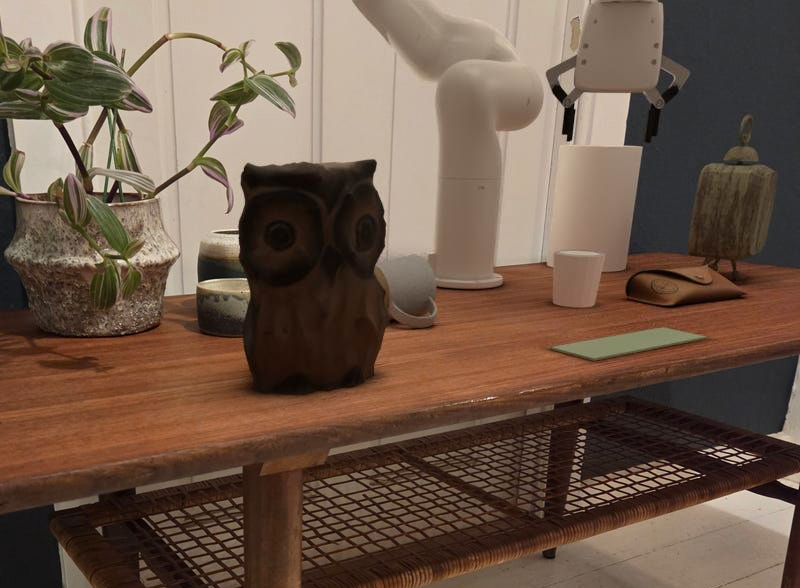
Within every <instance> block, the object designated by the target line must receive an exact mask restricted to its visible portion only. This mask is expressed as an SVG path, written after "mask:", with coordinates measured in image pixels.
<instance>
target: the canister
mask: <svg viewBox="0 0 800 588" xmlns="http://www.w3.org/2000/svg"><path fill="white" fill-rule="evenodd" d="M642 155H643V146H641V145H640V146H638V145H609V144H608V145H606V144H560V145H559V146H558V157H557V165H556V166H557V167H556V177H555V185H554V193H553V201H552V202H553V204H552V212H551V219H550V223H551V224H550V231H549V239H548V249H547V256H546V257H547V259H546V266H548V267H550V268H553V264H554V252H555V251H560V250H588V251H596V252H600V253H604V254H605V260H604V264H603V269H602V273H610V272H612V273H613V272H621V271H625V270H626V267H627V262H628V261H627V260H628V256H629V247H630V239H631V232H632V227H633V218H634V212H635V205H636V197H637V191H638V183H639V175H640V170H641V161H642Z"/></svg>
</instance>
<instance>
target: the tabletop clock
mask: <svg viewBox="0 0 800 588" xmlns="http://www.w3.org/2000/svg"><path fill="white" fill-rule="evenodd" d="M747 121H748V123H749V127H748V129H749V130H748V133H743V132H744V128H745V125H746V124H747ZM753 128H754V118H753V116H752V115H751V114H746V115H745V116H743V118H742V120H741V123H740V128H739V133H738V141H739V145H738V146H734V147H731V148H730V149H729V150H728V151H727V152H726V153H725V155H724V157H723V159H722V161H726V162H725V163H724V162H712V163H709V164H706V165H705V166H703V168H702V170H701V171H700V174H699V178H698V182H697V186H696V192H695V198H694V202H693V208H692V213H691V221H690V227H689V234H688V242H687V254H688V255H689V256H690V257H698V258H699V257H700V258H704V260H703V262H702V264H701V266H705V265H707V264H709V265H711V269H712V270H714V271H716V272H718V270H719V265H718V264H719V262H720V261H721V260H730V262H731V268H732V271H730V273H729V278H730V280H732V281H738V280H739V279H740V278H741V272H740V271H739V270H737V261H740V260H741V261H742V260H745V259H748V258H750V257H752V256H755V255H757V254H759V253H760V252H762V250H763V249H764V247H765V244H766V241H767V238H768V233H769V228H770V227H769V226H770V223H771V218H772V213H773V208H774V202H775V198H776V193H777V192H776V191H777V186H778V179H779V175H778V172H777V171H775V170H773V169H772V168H770V167H769V166H767V165H764V164H756V163H755V164H754V163H753V164H752V163H744V162H759V161H760V160H759V159H760V158H759V155H758V152H757V151H756V150H755V148H754V147H752V146H748V143H749V141H750V140H751V137H752V133H753ZM727 162H736V163H727Z"/></svg>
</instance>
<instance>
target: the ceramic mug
mask: <svg viewBox="0 0 800 588" xmlns="http://www.w3.org/2000/svg"><path fill="white" fill-rule="evenodd" d="M410 254H411V255H407V256H405V255H403V256H398V257H394V258H389V259H383V260H378V261H377V263H376V265H375V268H374V274H375V276H376V278H377V280H378V282H380V284H381V286H382V287H383V288H384V290H385V291H386V295H385V298H384V299H385V306H386V307H387V309H388V314H389V318H390V320H389V321H392V320H395V321H397V322H398V323H400V324H401V325H403V326H406V327H409V328H415V329H424V328H428V327H430V326H432V325H433V324H434V323H435V320H436V318H437V315H438V307H437V304H436V303H435V301H436V298H437V297H436V296H437V286H436V280H435V276H434V273H433V270H432V268H431V267H430V265H429V263H428V262H427V261H426V260H425V259H424V258H423V257H421V256H419V255H420V254H419V255H418V254H412V253H410ZM428 313H429V314H430V315H429V316H426V315H427V314H428ZM424 315H425V316H424Z"/></svg>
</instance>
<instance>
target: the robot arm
mask: <svg viewBox="0 0 800 588" xmlns="http://www.w3.org/2000/svg"><path fill="white" fill-rule="evenodd" d="M351 1H352V3H353V4H354V6H355V7H356V8H357V10H358V11H359V12H360V14H361V15H362V16H363V17H364V18H365V19H366V21H368V22H369V23H370V25H372V26H373V28H375V30H376V31H377V32H378V33H379V34H380V35H381V36H382V37H383V39H384V40H385V41H386V43H387V44H388V45H389V46H390V48H391V49H392V50H393V51H394V53H396V55H398V57H399V58H400V59H401V60H402V61H403V63H404V64H405V65H406V66H407V67H408V69H409V70H410V71H411V72H412V73H413V74H414V76H416V77H417V78H418V79H419V80H421V81H422V82H424V83H427V84H429V85H430V84H431V85H436V87H435V93H434V110H435V119H436V126H437V141H438V144H437V146H438V147H437V172H436V173H437V174H436V177H437V178H436V179H437V180H436V191H435V192H436V195H435V211H434V212H435V213H434V227H433V228H434V229H433V244H432V245H433V246H432V250H430V252H428V253H425V255H422V254H421V255H420V254H419V256H421V257H423V258H424V259H425V260H426V261H427V262H428V263H429V265H430V267H431V268H432V270H433V273H434V276H435V280H436V287H439V288H446V289H448V288H449V289H459V290H460V289H461V290H480V289H492V288H497V287H500V286H502V285H503V283H504V282H503V281H504V277H503V276H502V275H501V274H499V273H497V272H496V273H495V272H494V270H495V259H496V258H495V256H496V246H497V245H496V244H497V234H498V223H499V222H498V221H499V211H500V210H499V209H500V198H501V187H502V173H503V155H502V149H501V145H500V141H499V136H498V133H497V132H515V131H519V130H523V129H525V128H527V127H528V126H530V125H531V124H533V123H534V122H535V121H536V120H537V118H538V117H539V115H540V113H541V111H542V108H543V105H544V100H545V96H544V95H545V93H544V92H545V91H544V86H543V82H542V80H541V78H540V76H539V74H538V72H537V70H536V69H535V68H534V66H533V65H532V64H531V63H530V62H529V61H528V60H527V59H526V58H525V56H523V55H522V53H521V52H520V51H519V50H518V49H517V48H516V47H515V46H514V45H513V44H512V43H511V42H510V41H509V40H508V39H507V38H506V37H505V35H503V33H501V31H500V30H499V29H497V27H495V26H494V25H492V24H490V23H489V22H487V21H484V20H482V19H479V18H474V17H467V16H459V15H453V14H450V13H447V12H445V11H443V10H442V9H440V8H439V7H438V6H437V5H436V4H435V3H434V2H433V1H432V0H351ZM584 11H585V13H584V15H583V19H582V23H581V27H580V31H579V32H580V33H579V38H578V44H577V51H576V54H575V55H573V56H572V57H569V58H567V59H566V60H564V61H562V62H560V63H558V64H555V65H554V66H553V67H550V68H548V69H547V70H546V71H545V77H546V80H547V82H548V85H549V88H550V90H551V93H552V95H553V96H554V97H555V99H556V100H557V101H558V102H559V103H560V104H561V106H562V107H563V108H564V109H563V116H562V117H563V119H562V126H561V127H562V128H561V135H562V136H566V140H565V141H566V142H568V143H569V142H572V141H573V139H574V138H573V137H574V129H575V119H576V111H577V110H576V108H575V104H576V103H575V102H577V101H578V99H579V98H581V96H582V95H583V94H584V93H589V94H642V93H643V94H644V97H646V99H647V101H648V102H649V103H650V104H649V109H647V111H646V117H645V123H644V129H643V139H642V142H643V143H644V144H652V143H651V141H652V137H657V136H658V131H659V125H660V119H661V118H660V117H661V112H662V108H664V106H665V105H667V104H668V103H669V102H670V101H671V100H672V99H673V98H675V97H676V96H677V95H678V94H679V92H680V91H681V89H682V87H683V86H684V84H685V83H686V81H687V80H688V78H689V77H690V75H691V71H690V69H688V68H686V67H684V66H682V65H681V64H679V63H678V62H675V61H674V60H672V59H671V58H669V57H667V56H666V55H664V54H663V42H664V41H663V40H664V4H663V3H662V2H660V1H659V0H593V3H589V4H588V5H586V8H585V10H584ZM572 69H574V73H573V86H574V88H573V89H572V90H571V91H570V93H567V92H566V91H565V90H564V89H563V88H562V86H561V84H560V80H559V77H560V76H562V75H563V74H566V73H567V72H568V71H569V72H570V71H571V70H572ZM661 69H662V70H663V71H665V72H666V73H668V74H670V75H672V76H673V81H672V82H671V84H670V86H669V87H667V88H666V89H665V90H664V91H663V92H662V93H661V94H660V92H659V91H658V89H657V88H656V87H657V85H658V82H659V79H660V78H659V77H660V71H661ZM411 254H412V253H405V255H404V256H407V255H411Z"/></svg>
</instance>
